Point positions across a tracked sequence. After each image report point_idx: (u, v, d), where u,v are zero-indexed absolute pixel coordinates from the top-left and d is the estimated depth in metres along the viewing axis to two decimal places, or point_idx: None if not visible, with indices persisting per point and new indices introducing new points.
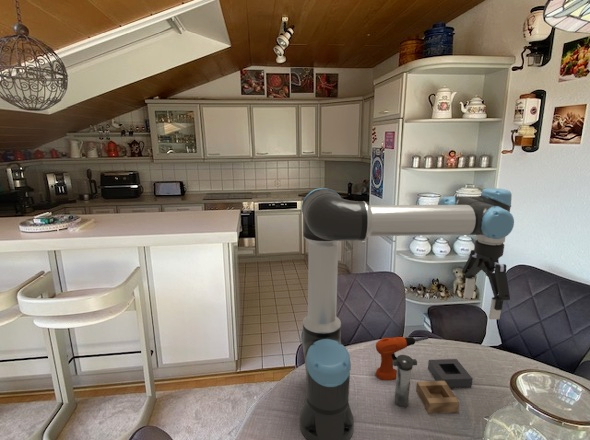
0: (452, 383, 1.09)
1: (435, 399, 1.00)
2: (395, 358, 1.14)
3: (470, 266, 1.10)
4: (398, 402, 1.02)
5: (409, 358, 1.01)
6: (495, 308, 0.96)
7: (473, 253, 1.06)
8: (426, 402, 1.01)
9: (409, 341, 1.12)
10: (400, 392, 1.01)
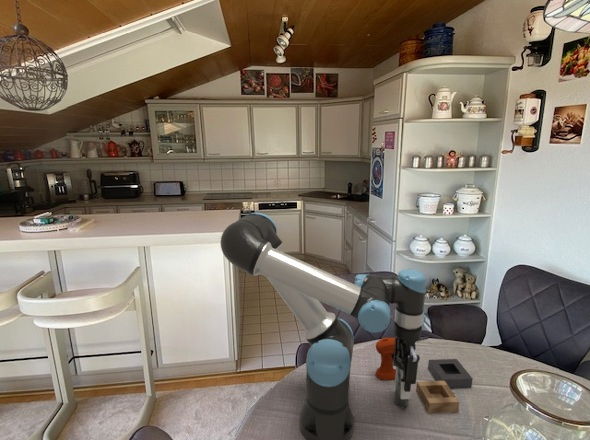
0: (452, 383, 1.09)
1: (435, 399, 1.00)
2: None
3: None
4: (398, 402, 1.02)
5: None
6: (404, 389, 0.99)
7: None
8: (426, 402, 1.01)
9: None
10: None
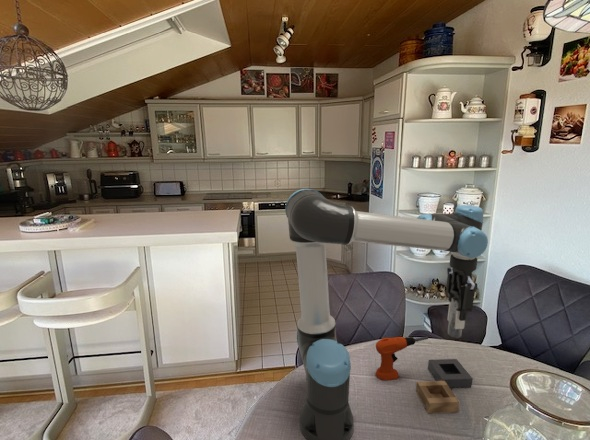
0: (452, 383, 1.09)
1: (435, 399, 1.00)
2: (395, 358, 1.14)
3: None
4: (452, 332, 1.09)
5: None
6: (459, 319, 1.06)
7: (449, 270, 1.11)
8: (426, 402, 1.01)
9: (409, 341, 1.12)
10: None
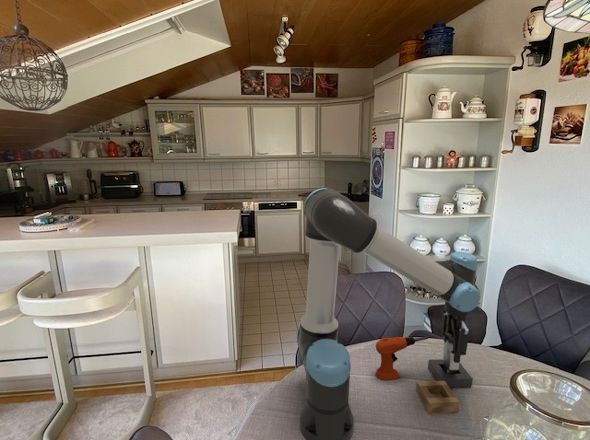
0: (452, 383, 1.09)
1: (435, 399, 1.00)
2: (395, 358, 1.14)
3: (446, 327, 1.15)
4: (447, 373, 1.12)
5: None
6: (454, 360, 1.09)
7: (445, 311, 1.15)
8: (426, 402, 1.01)
9: (409, 341, 1.12)
10: None
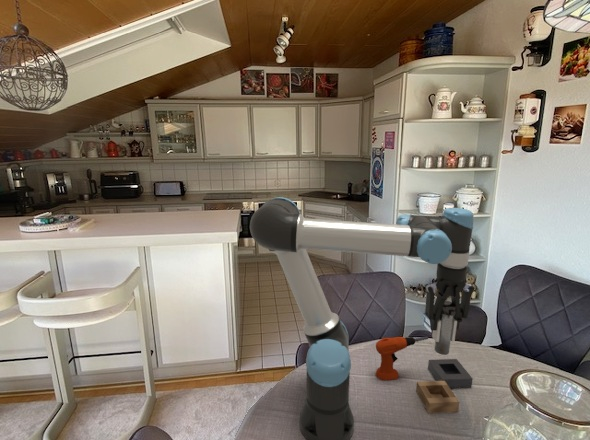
0: (452, 383, 1.09)
1: (435, 399, 1.00)
2: (395, 358, 1.14)
3: None
4: None
5: None
6: (456, 328, 0.98)
7: None
8: (426, 402, 1.01)
9: (409, 341, 1.12)
10: None
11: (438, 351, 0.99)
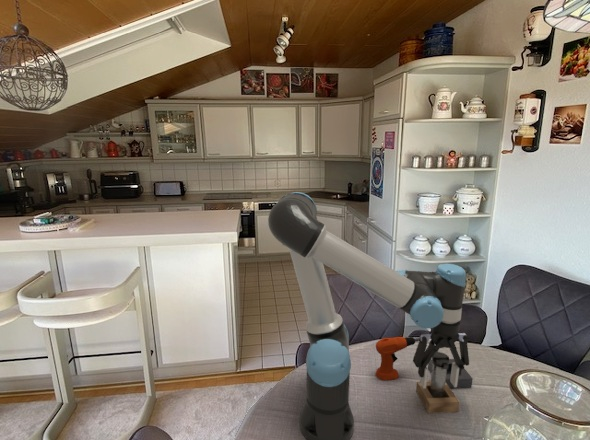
0: None
1: (435, 399, 1.00)
2: (395, 358, 1.14)
3: None
4: None
5: (436, 353, 1.02)
6: (458, 375, 1.02)
7: None
8: (426, 402, 1.01)
9: (409, 341, 1.12)
10: (444, 387, 1.02)
11: None
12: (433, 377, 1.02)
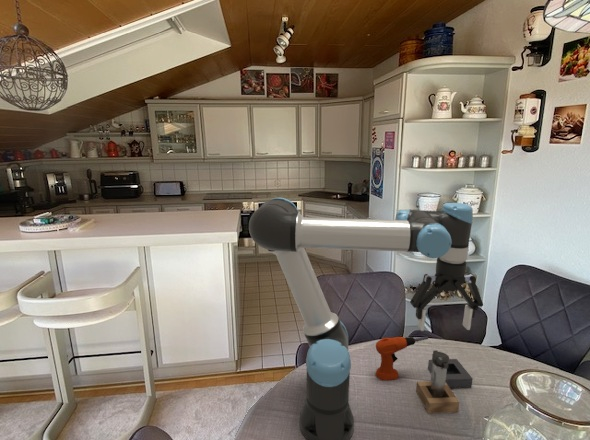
0: (452, 383, 1.09)
1: (435, 399, 1.00)
2: (395, 358, 1.14)
3: None
4: None
5: (436, 353, 1.02)
6: None
7: None
8: (426, 402, 1.01)
9: (409, 341, 1.12)
10: (444, 387, 1.02)
11: None
12: (433, 377, 1.02)
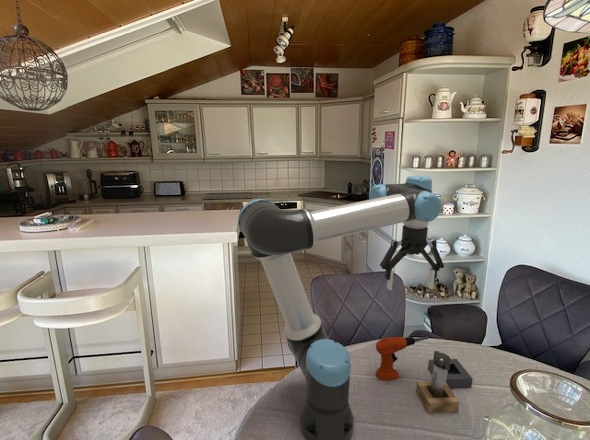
0: (452, 383, 1.09)
1: (435, 399, 1.00)
2: (395, 358, 1.14)
3: None
4: None
5: (438, 354, 1.02)
6: (434, 278, 1.10)
7: None
8: (426, 402, 1.01)
9: (409, 341, 1.12)
10: None
11: None
12: (434, 377, 1.01)
